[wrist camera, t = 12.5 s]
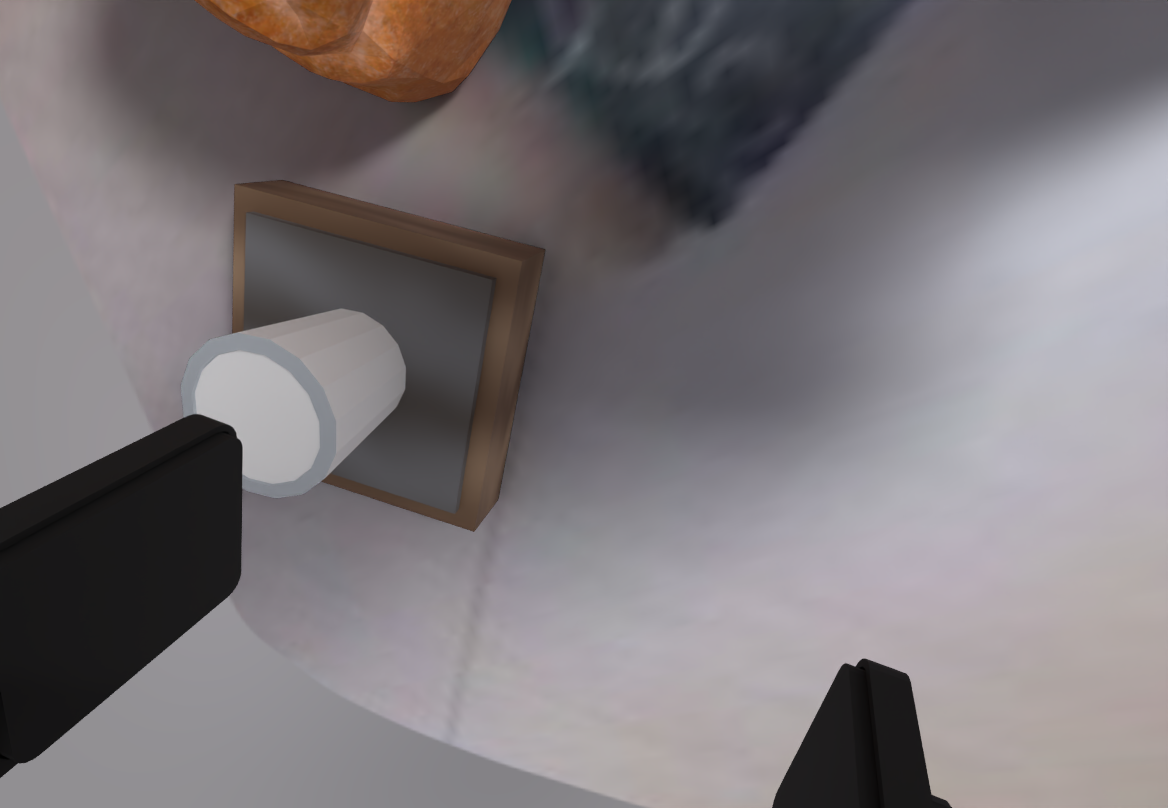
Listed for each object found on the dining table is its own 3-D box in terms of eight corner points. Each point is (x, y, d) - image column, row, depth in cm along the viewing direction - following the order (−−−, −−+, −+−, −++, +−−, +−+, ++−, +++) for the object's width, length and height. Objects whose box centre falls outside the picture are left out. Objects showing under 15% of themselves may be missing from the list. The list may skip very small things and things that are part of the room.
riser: (282, 180, 36) (226, 184, 32) (545, 249, 34) (518, 263, 30) (272, 427, 41) (224, 455, 38) (498, 499, 39) (470, 536, 36)
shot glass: (303, 431, 36) (202, 495, 29) (274, 296, 34) (158, 334, 27) (428, 436, 34) (350, 504, 28) (406, 293, 32) (316, 333, 25)
